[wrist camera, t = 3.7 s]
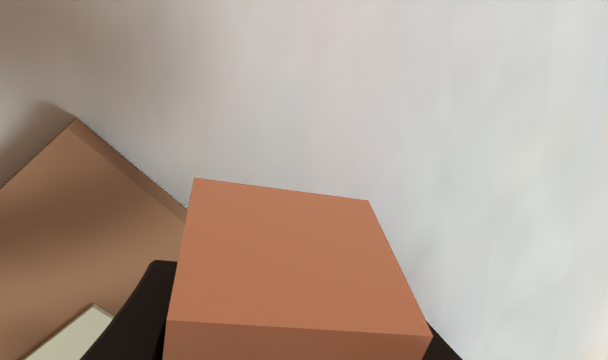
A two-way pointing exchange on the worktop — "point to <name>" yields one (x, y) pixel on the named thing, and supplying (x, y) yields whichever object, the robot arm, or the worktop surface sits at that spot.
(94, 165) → the arena
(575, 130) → the worktop surface
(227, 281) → the cube
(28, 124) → the worktop surface
